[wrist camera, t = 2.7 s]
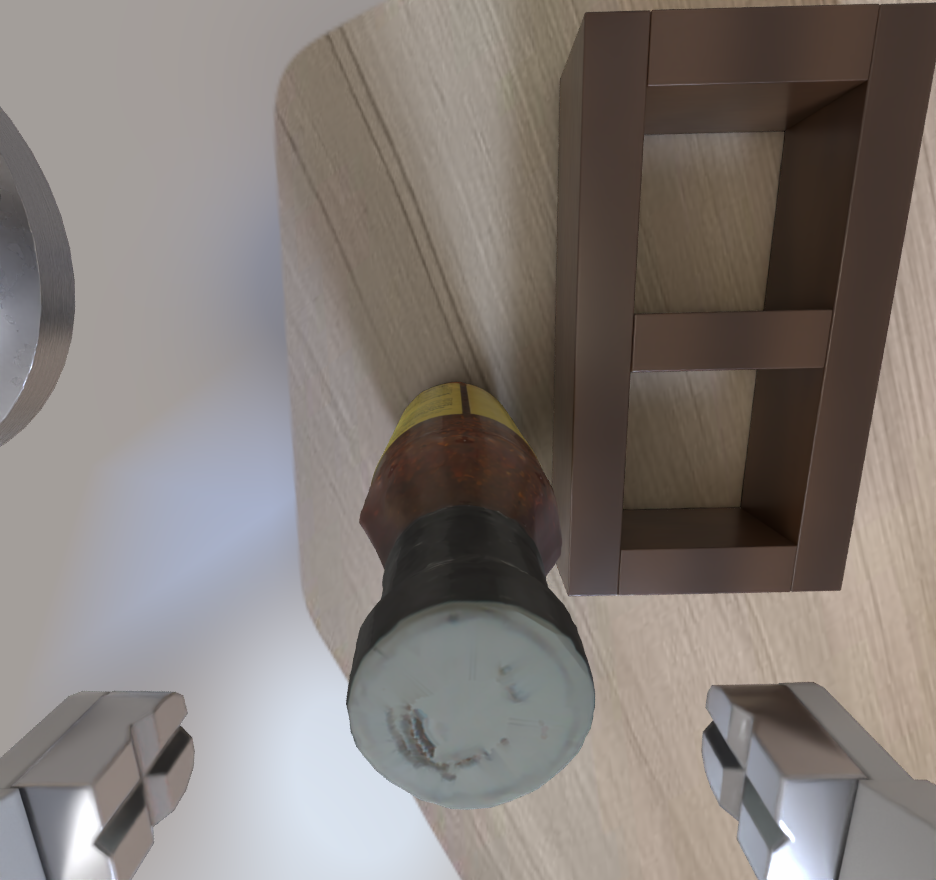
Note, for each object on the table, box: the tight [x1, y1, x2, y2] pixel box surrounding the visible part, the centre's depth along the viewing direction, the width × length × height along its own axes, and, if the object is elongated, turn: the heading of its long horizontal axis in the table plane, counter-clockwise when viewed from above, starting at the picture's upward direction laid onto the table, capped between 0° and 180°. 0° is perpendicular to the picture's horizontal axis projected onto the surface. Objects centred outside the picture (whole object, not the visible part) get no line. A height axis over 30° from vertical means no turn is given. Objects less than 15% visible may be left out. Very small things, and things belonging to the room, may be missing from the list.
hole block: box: [552, 3, 936, 596], centre depth 23 cm, size 14×24×5 cm, turn 1°
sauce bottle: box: [346, 382, 595, 810], centre depth 17 cm, size 7×6×20 cm
